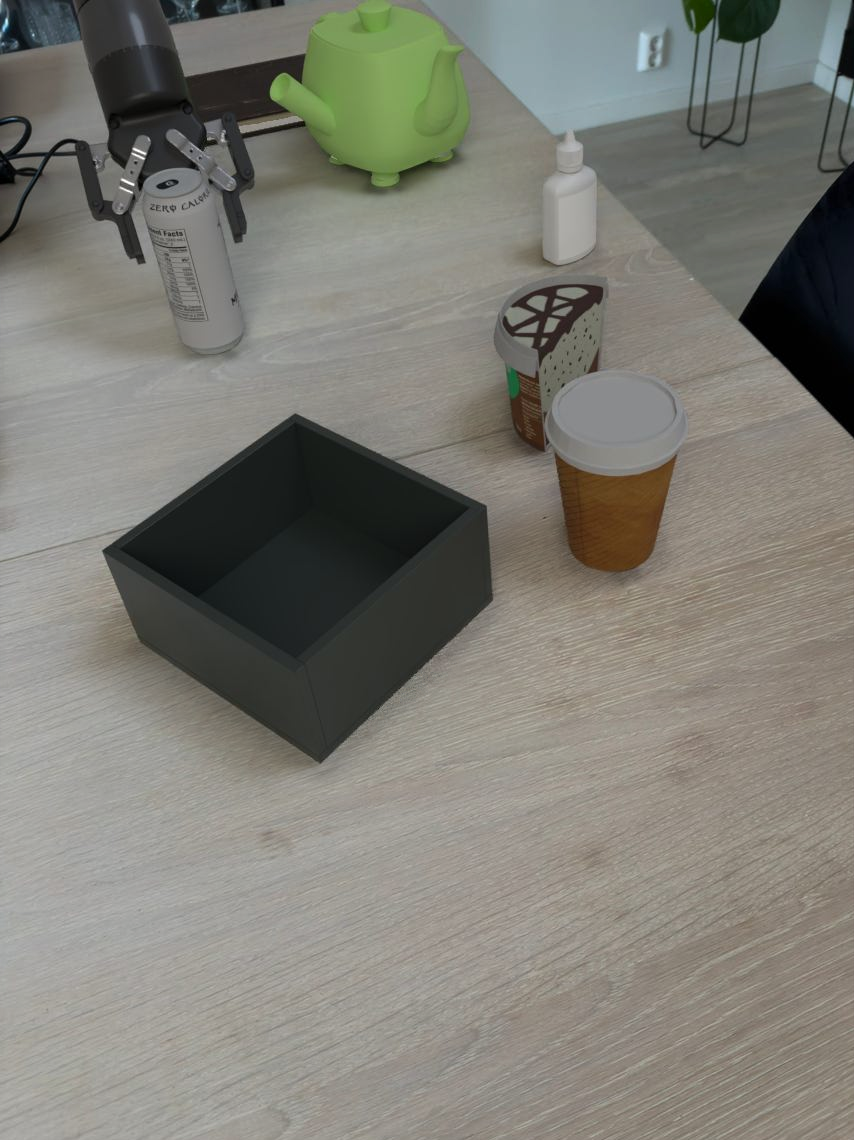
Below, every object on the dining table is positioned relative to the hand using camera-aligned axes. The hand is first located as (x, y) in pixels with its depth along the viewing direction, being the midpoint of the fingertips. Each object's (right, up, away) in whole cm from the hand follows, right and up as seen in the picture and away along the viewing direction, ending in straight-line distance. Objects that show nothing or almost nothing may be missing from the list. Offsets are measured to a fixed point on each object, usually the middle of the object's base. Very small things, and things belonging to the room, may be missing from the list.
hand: (190, 250), depth 98 cm
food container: (+30, -15, -3) cm, 34 cm away
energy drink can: (+1, -6, +7) cm, 9 cm away
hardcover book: (-3, +31, +41) cm, 51 cm away
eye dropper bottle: (+34, +4, +13) cm, 37 cm away
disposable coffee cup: (+35, -27, -15) cm, 46 cm away
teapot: (+14, +18, +28) cm, 36 cm away
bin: (+14, -32, -19) cm, 40 cm away
